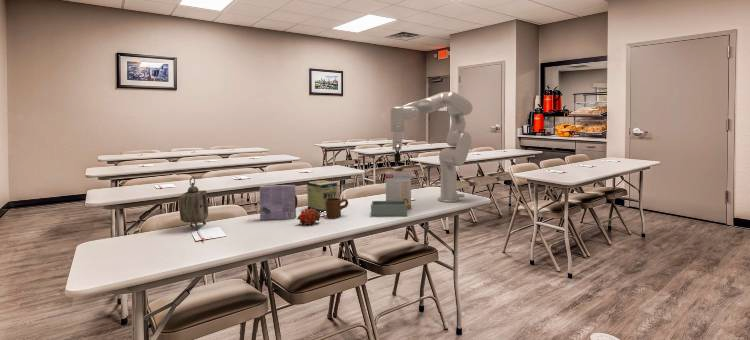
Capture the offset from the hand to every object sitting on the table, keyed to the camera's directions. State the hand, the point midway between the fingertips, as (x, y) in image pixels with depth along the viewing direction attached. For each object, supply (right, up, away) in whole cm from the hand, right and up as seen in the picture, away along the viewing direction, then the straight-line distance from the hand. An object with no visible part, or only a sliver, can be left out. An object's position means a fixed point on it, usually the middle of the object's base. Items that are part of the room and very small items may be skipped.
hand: (397, 160), depth 240 cm
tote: (-5, -29, -9) cm, 31 cm away
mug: (-32, -30, -12) cm, 46 cm away
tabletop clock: (-100, -34, -28) cm, 110 cm away
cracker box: (+1, -27, +4) cm, 28 cm away
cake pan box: (-62, -31, -14) cm, 71 cm away
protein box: (-42, -28, +6) cm, 51 cm away
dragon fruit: (-45, -32, -26) cm, 61 cm away
